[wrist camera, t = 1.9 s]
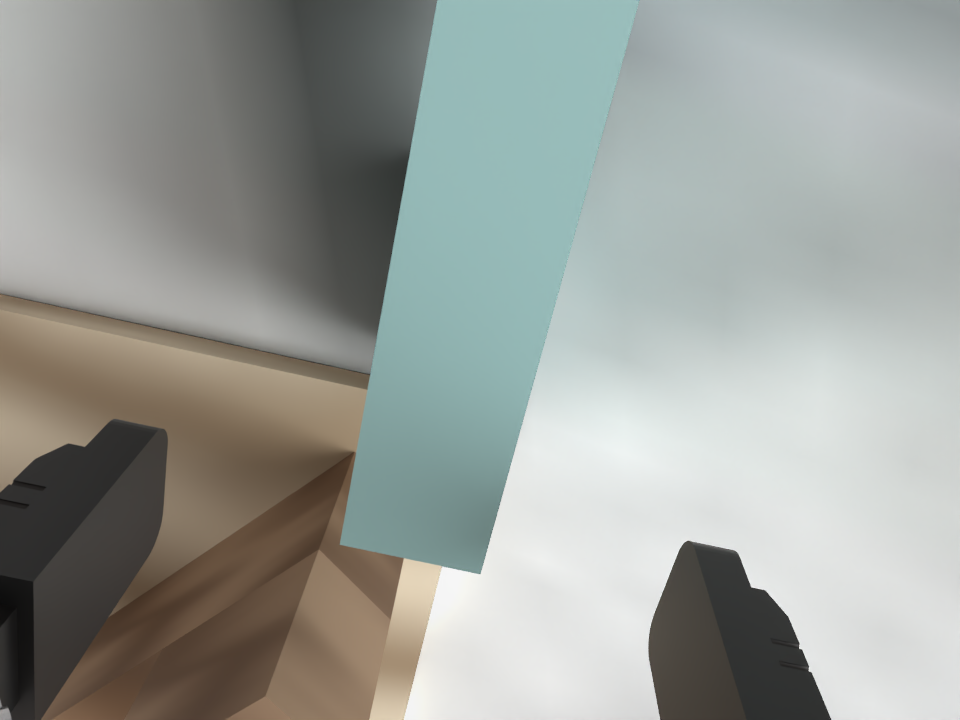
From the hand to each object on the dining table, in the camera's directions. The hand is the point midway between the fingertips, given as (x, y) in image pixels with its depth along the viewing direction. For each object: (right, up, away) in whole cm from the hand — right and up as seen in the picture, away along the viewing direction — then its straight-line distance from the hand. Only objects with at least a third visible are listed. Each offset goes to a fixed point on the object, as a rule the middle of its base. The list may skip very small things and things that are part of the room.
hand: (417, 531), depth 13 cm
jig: (-7, -4, +12) cm, 14 cm away
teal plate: (+2, +9, +5) cm, 10 cm away
